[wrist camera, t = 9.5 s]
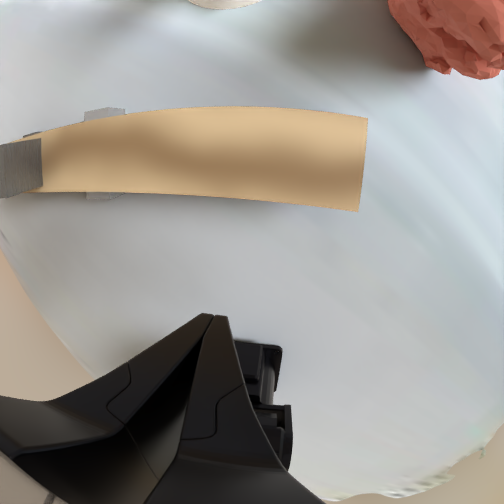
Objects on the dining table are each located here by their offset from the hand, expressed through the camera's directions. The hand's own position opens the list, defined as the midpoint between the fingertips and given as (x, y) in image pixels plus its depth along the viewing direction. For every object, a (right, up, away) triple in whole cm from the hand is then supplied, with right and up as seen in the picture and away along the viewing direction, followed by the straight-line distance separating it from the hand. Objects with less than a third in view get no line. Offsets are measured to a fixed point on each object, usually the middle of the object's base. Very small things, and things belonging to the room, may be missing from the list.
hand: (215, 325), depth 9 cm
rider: (-19, +10, +8) cm, 23 cm away
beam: (-8, +9, +8) cm, 14 cm away
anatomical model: (+15, +21, +4) cm, 27 cm away
